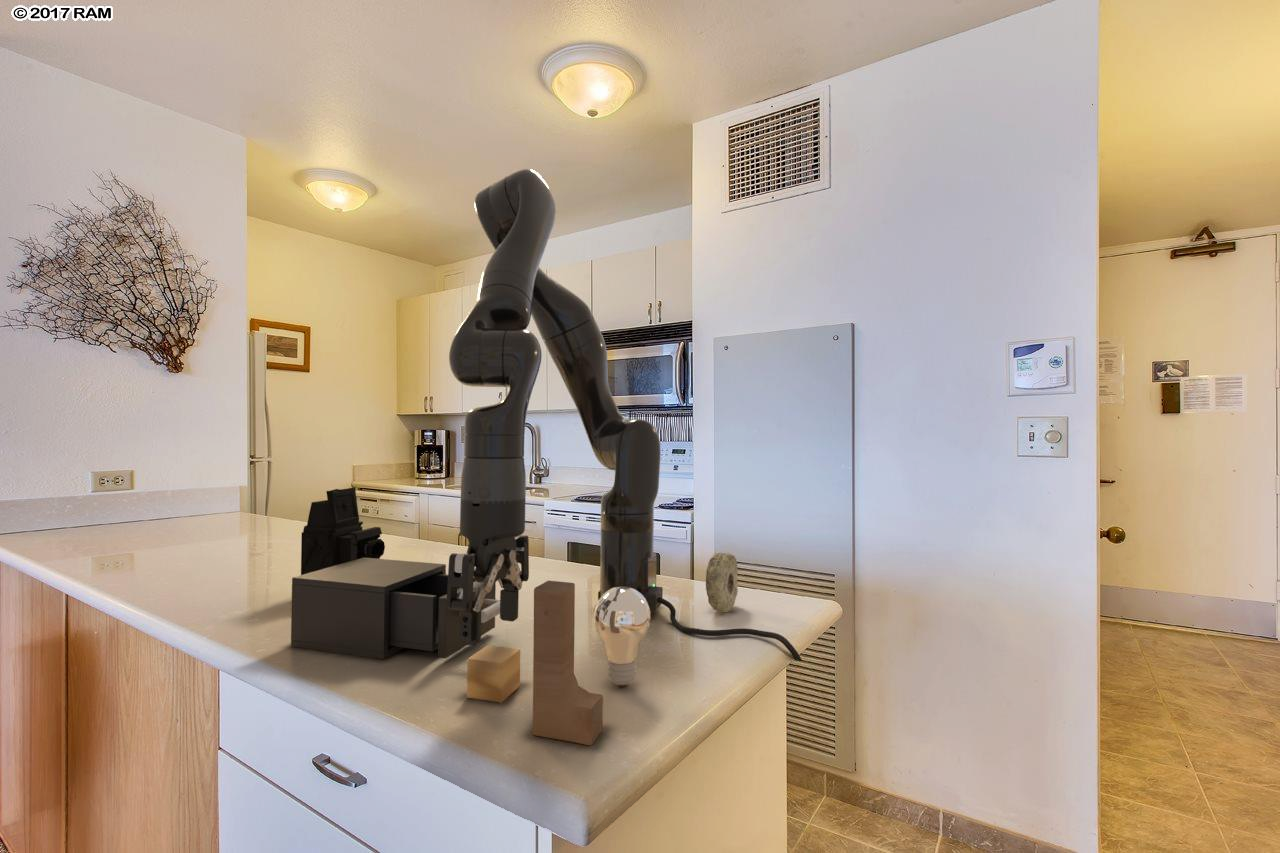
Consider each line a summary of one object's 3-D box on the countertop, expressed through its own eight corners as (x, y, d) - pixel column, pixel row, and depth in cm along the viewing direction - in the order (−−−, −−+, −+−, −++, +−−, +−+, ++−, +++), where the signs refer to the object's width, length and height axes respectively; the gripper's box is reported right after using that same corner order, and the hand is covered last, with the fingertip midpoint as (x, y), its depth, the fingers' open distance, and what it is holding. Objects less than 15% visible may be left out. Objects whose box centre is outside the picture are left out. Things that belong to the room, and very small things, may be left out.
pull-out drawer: (521, 630, 85) (521, 577, 85) (475, 662, 73) (475, 601, 73) (413, 617, 90) (414, 568, 90) (354, 646, 78) (354, 589, 78)
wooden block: (531, 735, 57) (533, 587, 57) (546, 719, 60) (547, 579, 61) (591, 746, 55) (592, 593, 56) (603, 730, 58) (604, 585, 59)
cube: (520, 686, 68) (520, 648, 69) (501, 703, 64) (501, 663, 64) (487, 681, 70) (487, 644, 70) (466, 697, 65) (467, 658, 65)
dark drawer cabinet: (445, 626, 89) (446, 564, 89) (383, 659, 76) (384, 586, 76) (362, 616, 94) (363, 557, 94) (290, 646, 80) (291, 577, 80)
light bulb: (596, 672, 72) (597, 579, 73) (650, 673, 72) (651, 580, 72) (589, 698, 66) (590, 594, 66) (649, 699, 65) (650, 595, 65)
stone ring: (721, 620, 93) (721, 559, 93) (701, 616, 95) (701, 557, 95) (742, 604, 102) (742, 549, 102) (723, 601, 104) (723, 547, 104)
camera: (359, 607, 98) (361, 492, 98) (292, 602, 101) (294, 489, 101) (395, 592, 108) (396, 487, 108) (333, 587, 111) (335, 485, 111)
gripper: (497, 488, 75) (494, 610, 75) (428, 499, 62) (425, 649, 61) (548, 491, 73) (545, 616, 73) (489, 503, 59) (485, 657, 59)
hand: (490, 631), depth 67 cm, fingers open, 8 cm apart
